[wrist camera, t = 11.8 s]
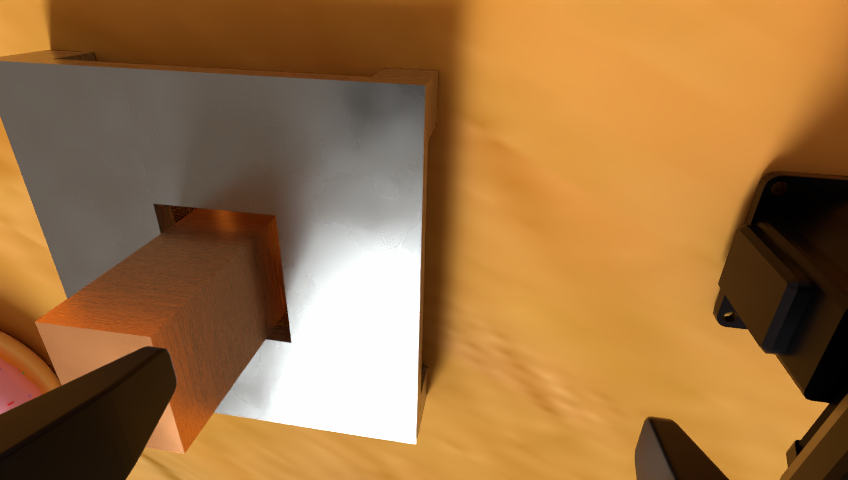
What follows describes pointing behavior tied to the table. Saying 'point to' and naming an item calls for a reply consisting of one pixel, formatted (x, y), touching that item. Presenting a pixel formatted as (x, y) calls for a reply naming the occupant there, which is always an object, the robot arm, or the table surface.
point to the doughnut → (22, 374)
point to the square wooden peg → (179, 313)
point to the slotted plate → (251, 208)
